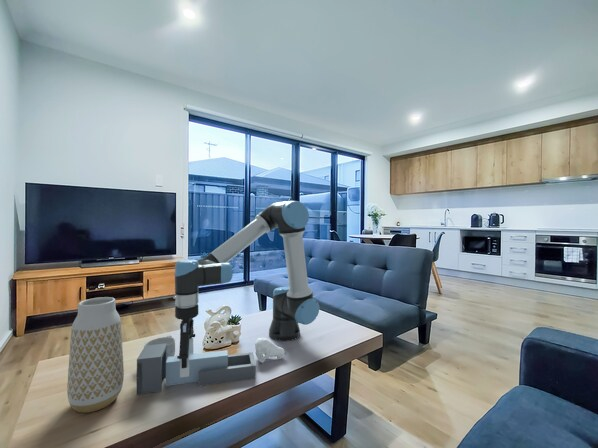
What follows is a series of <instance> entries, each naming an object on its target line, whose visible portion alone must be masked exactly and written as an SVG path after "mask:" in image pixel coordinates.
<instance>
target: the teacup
mask: <svg viewBox="0 0 598 448" xmlns="http://www.w3.org/2000/svg"><path fill="white" fill-rule="evenodd" d="M175 342H176V339H175V338H174V337H172V335H169V334H168V335H166V336H164V337H163V336H162V337H157V338H155V339H152V340H151V339H150V340H149V341H147V342H146V343H144V345H143V348H144V347H145V345H155V344H165V343H167V358H168V357H171V356H176V343H175Z"/></svg>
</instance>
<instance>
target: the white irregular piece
mask: <svg viewBox="0 0 598 448" xmlns="http://www.w3.org/2000/svg"><path fill="white" fill-rule="evenodd" d="M254 345H255V346H254V347H255V356H256V358H257V360H258V362H259V363H261V364H263V363H264V360H267V359H269V358H272V357H276V359H277V360H280V359H282V358H283V356H285V350H284V348H283V347H280V346H277V345H276V344H275V343H274V342H273V341H271V340H270V339H269V338H267V337H259V338H257V339H256V340H255V342H254Z"/></svg>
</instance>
